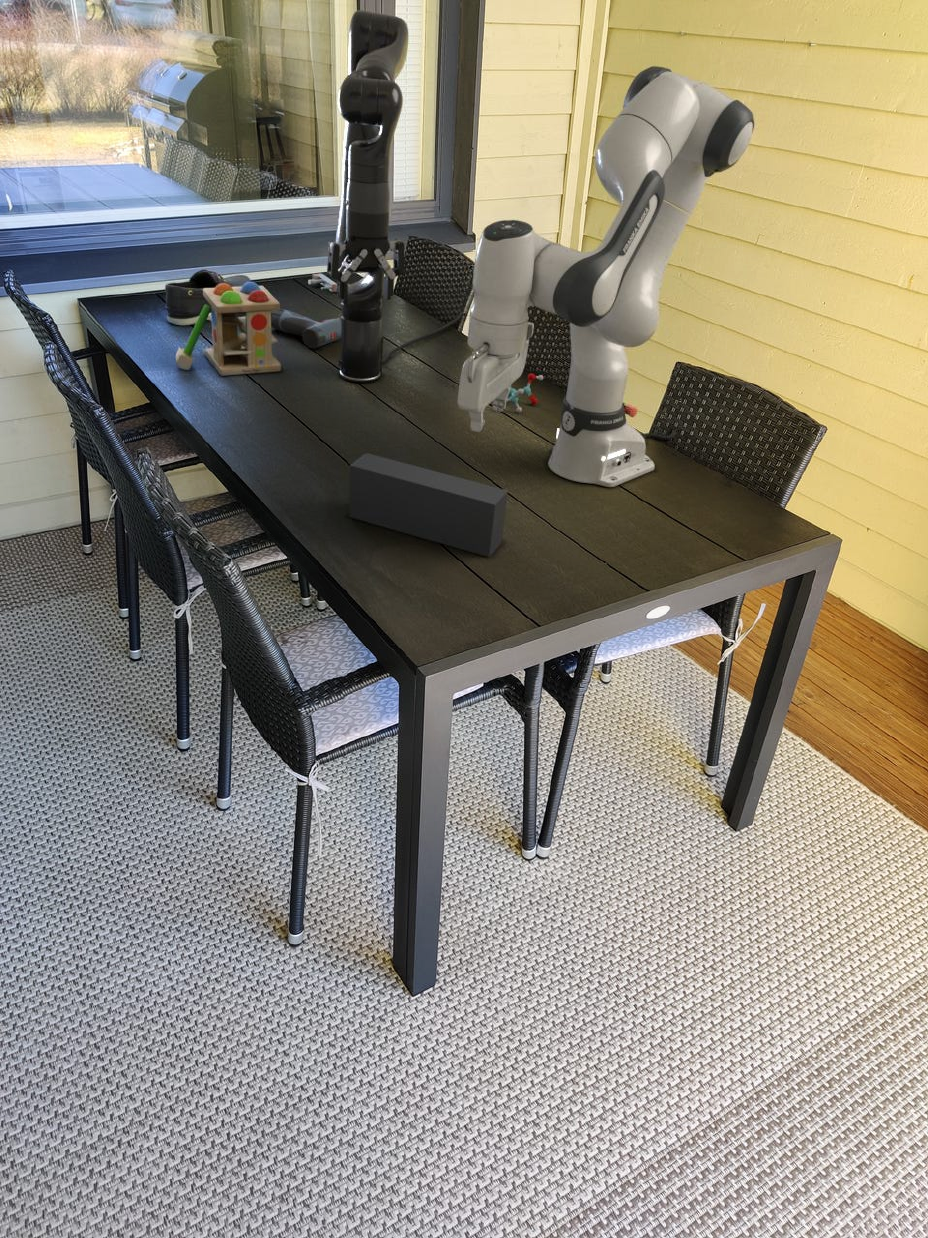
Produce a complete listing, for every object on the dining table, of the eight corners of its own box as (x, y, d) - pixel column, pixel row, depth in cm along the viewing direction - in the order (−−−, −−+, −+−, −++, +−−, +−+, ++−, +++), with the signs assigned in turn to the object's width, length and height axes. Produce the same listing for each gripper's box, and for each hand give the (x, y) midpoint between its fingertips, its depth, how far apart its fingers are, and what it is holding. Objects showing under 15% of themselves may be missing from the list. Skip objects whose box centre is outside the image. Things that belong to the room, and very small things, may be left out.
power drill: (305, 316, 264) (364, 334, 256) (257, 332, 251) (318, 351, 243) (305, 296, 261) (365, 314, 253) (257, 311, 248) (318, 330, 240)
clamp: (303, 274, 289) (334, 272, 294) (303, 281, 290) (334, 279, 295) (323, 288, 279) (355, 286, 283) (323, 296, 280) (355, 294, 285)
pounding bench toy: (183, 379, 220) (176, 299, 210) (169, 357, 231) (162, 280, 221) (282, 371, 230) (280, 294, 220) (264, 350, 240) (262, 276, 230)
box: (349, 517, 175) (350, 465, 169) (364, 503, 179) (366, 452, 174) (489, 557, 167) (495, 504, 161) (501, 542, 172) (508, 490, 166)
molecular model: (539, 404, 216) (525, 360, 215) (500, 418, 220) (486, 375, 218) (551, 402, 227) (538, 360, 225) (514, 416, 230) (501, 374, 229)
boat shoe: (273, 303, 272) (271, 265, 267) (185, 327, 248) (181, 285, 243) (238, 295, 278) (236, 257, 272) (149, 317, 254) (144, 276, 249)
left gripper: (337, 212, 167) (336, 308, 176) (413, 211, 173) (408, 303, 182) (322, 202, 172) (321, 295, 181) (396, 201, 178) (392, 291, 187)
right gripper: (491, 358, 141) (482, 447, 149) (537, 322, 157) (527, 404, 164) (451, 349, 143) (444, 437, 150) (501, 314, 158) (492, 395, 166)
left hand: (365, 299), depth 181 cm, fingers open, 8 cm apart
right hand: (488, 419), depth 158 cm, fingers open, 8 cm apart
